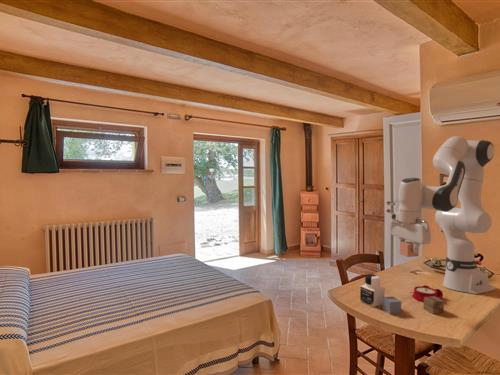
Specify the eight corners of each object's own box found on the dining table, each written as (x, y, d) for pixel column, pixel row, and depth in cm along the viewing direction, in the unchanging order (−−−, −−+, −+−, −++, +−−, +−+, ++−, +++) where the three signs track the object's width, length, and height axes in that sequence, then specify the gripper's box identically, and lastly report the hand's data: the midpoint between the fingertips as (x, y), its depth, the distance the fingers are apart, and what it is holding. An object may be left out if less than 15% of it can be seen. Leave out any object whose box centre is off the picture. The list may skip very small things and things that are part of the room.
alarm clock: (406, 289, 143) (424, 276, 151) (407, 302, 145) (425, 289, 152) (429, 297, 135) (447, 283, 142) (431, 310, 136) (448, 296, 143)
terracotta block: (410, 253, 135) (410, 241, 135) (418, 256, 130) (418, 244, 130) (399, 253, 134) (399, 242, 134) (407, 256, 129) (407, 244, 129)
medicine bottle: (359, 301, 139) (360, 274, 138) (371, 298, 142) (371, 272, 142) (373, 307, 133) (373, 279, 132) (384, 304, 136) (385, 276, 136)
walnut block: (434, 308, 132) (434, 296, 132) (443, 313, 128) (443, 301, 127) (423, 309, 132) (423, 297, 131) (432, 314, 127) (433, 302, 126)
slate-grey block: (393, 308, 132) (393, 296, 132) (400, 313, 127) (401, 301, 127) (382, 309, 131) (382, 297, 131) (389, 314, 126) (389, 302, 126)
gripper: (435, 220, 122) (434, 256, 122) (400, 214, 142) (399, 244, 142) (421, 221, 120) (420, 257, 121) (387, 214, 141) (387, 245, 141)
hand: (409, 250), depth 132 cm, fingers closed on terracotta block, 5 cm apart
